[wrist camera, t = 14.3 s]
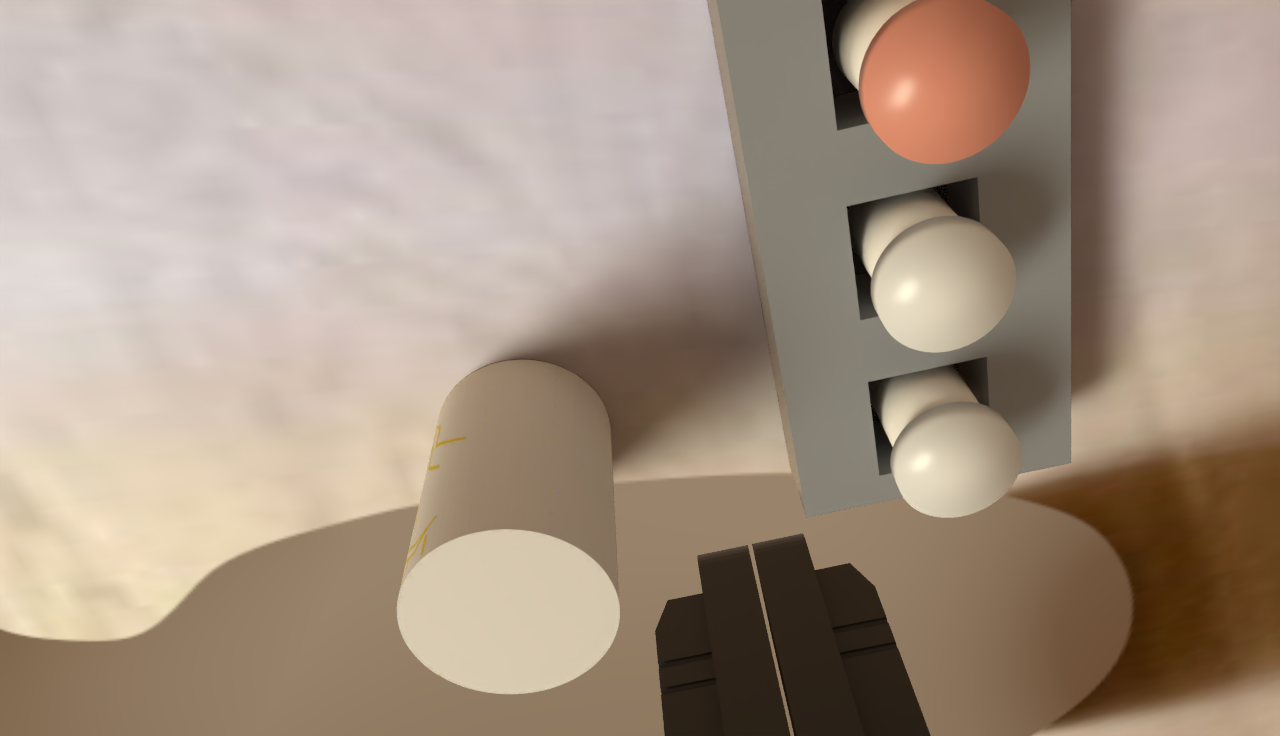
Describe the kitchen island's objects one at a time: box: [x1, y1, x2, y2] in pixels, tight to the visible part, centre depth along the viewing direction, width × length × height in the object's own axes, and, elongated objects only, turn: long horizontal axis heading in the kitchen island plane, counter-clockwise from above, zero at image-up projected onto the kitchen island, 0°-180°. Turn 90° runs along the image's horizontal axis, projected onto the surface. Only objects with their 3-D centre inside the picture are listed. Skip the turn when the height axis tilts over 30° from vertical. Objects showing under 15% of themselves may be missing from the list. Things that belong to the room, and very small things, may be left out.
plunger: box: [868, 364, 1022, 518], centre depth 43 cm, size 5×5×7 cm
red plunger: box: [832, 0, 1030, 164], centre depth 33 cm, size 5×5×7 cm
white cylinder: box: [397, 359, 620, 694], centre depth 42 cm, size 8×8×12 cm
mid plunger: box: [848, 187, 1016, 353], centre depth 39 cm, size 5×5×7 cm
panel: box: [707, 0, 1071, 518], centre depth 41 cm, size 12×24×4 cm, turn 13°
